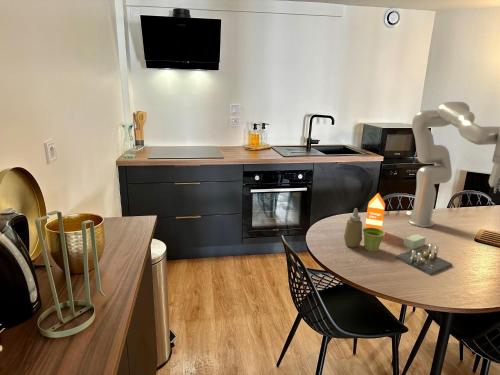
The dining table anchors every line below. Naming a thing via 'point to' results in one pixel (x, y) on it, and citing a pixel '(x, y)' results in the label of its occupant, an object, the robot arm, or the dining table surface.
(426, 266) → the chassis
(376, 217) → the orange juice
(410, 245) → the pale green block
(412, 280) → the dining table surface
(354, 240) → the squeeze bottle
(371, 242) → the plant pot
